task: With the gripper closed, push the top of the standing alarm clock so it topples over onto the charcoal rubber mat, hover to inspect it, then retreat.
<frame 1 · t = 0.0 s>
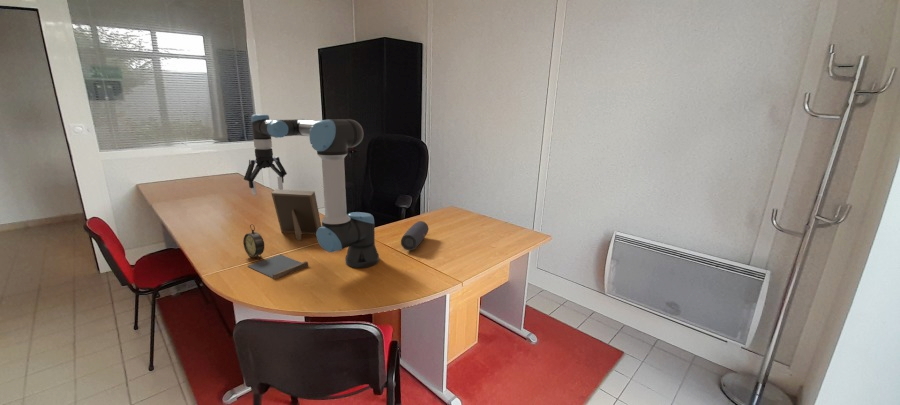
hand: (267, 192, 180), 28 cm above the table, fingers open, 13 cm apart
stop strip: (291, 272, 160), on the table
bluetooth speaker: (415, 245, 194), on the table
mat: (277, 266, 165), on the table
photo frame: (297, 235, 203), on the table
alarm clock: (256, 257, 174), on the table
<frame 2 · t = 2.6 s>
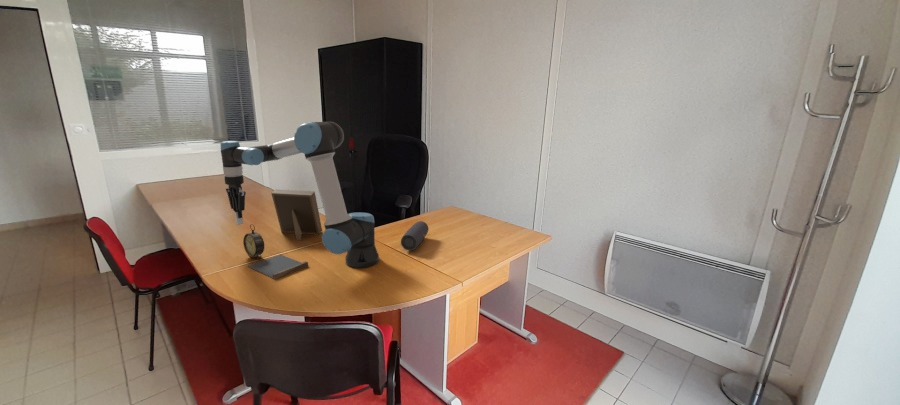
hand: (239, 224, 176), 14 cm above the table, fingers closed
nothing on the table moved.
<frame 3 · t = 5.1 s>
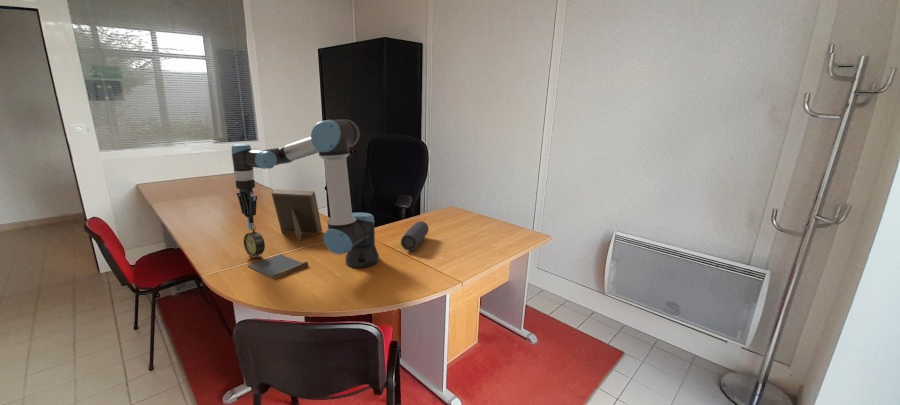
hand: (250, 229, 171), 13 cm above the table, fingers closed
alarm clock: (256, 256, 174), on the table, touching gripper
everything else where it was.
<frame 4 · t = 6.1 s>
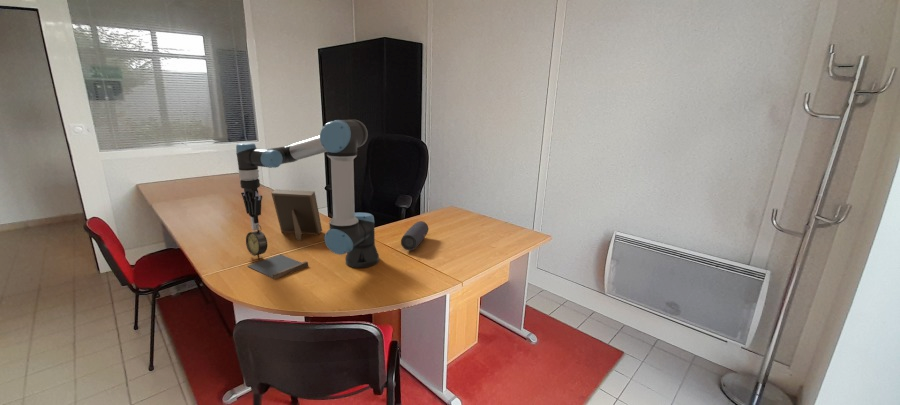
hand: (255, 229, 169), 14 cm above the table, fingers closed
alarm clock: (256, 254, 173), point 1 cm above the table, touching gripper
everything else where it was.
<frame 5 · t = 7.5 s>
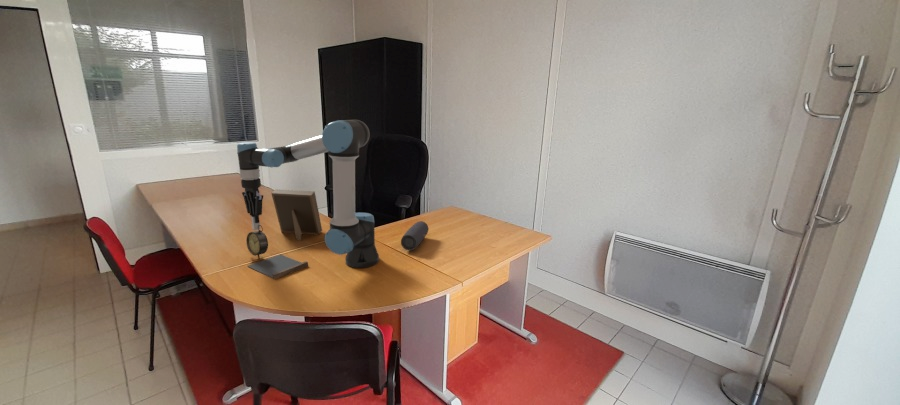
hand: (256, 229, 168), 14 cm above the table, fingers closed
nothing on the table moved.
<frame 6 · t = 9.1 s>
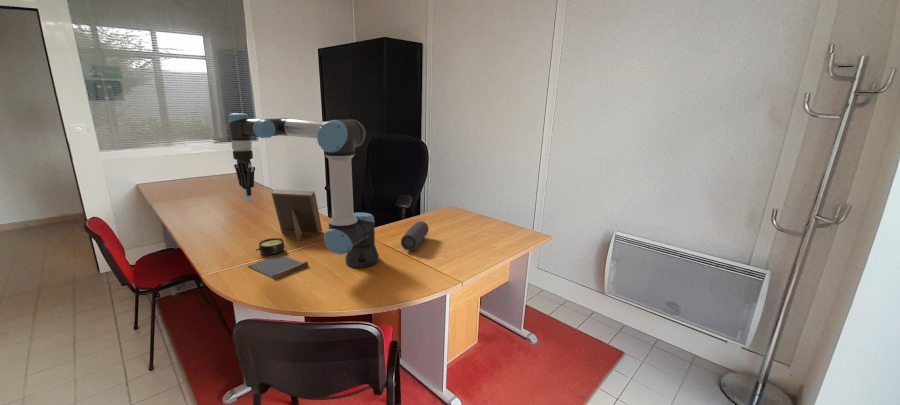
hand: (248, 202, 167), 26 cm above the table, fingers closed
alarm clock: (265, 252, 173), point 2 cm above the table
everything else where it was.
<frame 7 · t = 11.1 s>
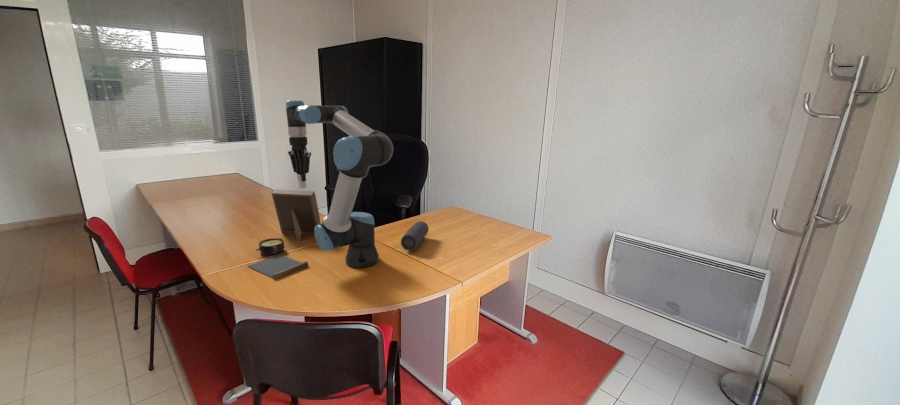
hand: (302, 187, 172), 32 cm above the table, fingers closed
nothing on the table moved.
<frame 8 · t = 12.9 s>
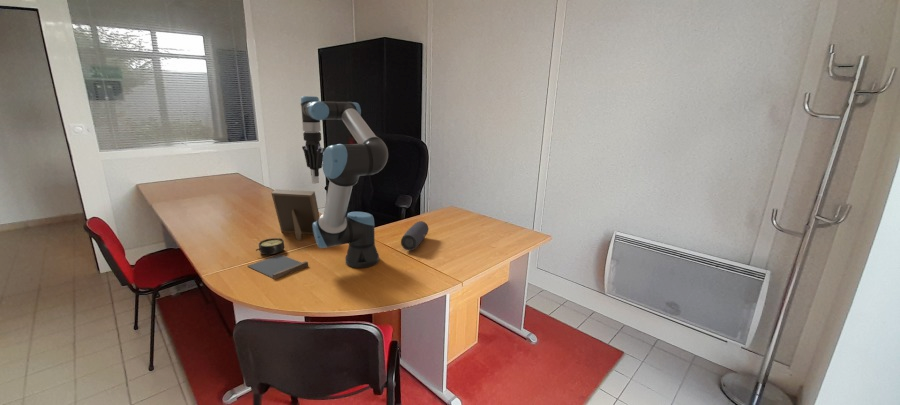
hand: (315, 182, 173), 34 cm above the table, fingers closed
nothing on the table moved.
at the end: alarm clock tilted 87°; alarm clock inside the target area (4.8 cm from its centre), point 2.2 cm above the table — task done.
